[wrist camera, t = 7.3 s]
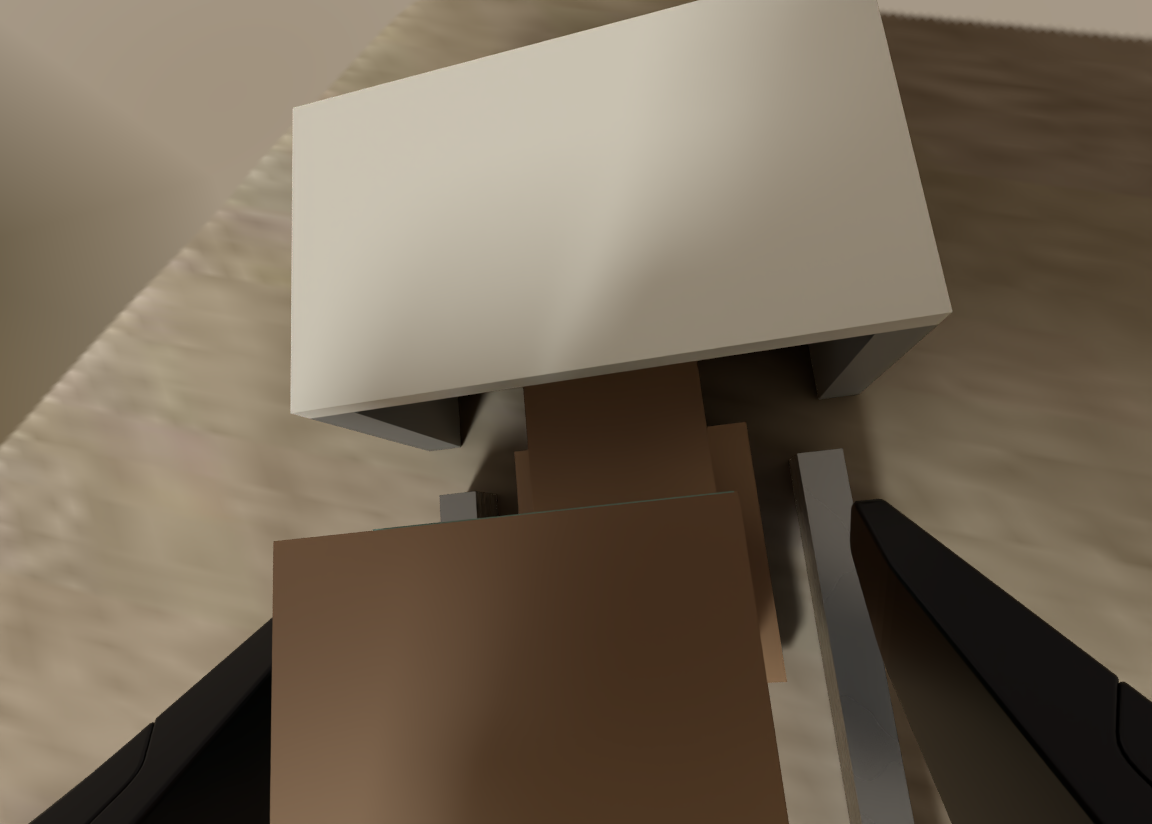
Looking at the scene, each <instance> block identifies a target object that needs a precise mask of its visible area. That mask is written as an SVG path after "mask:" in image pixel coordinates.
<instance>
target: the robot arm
mask: <svg viewBox="0 0 1152 824" xmlns="http://www.w3.org/2000/svg"><path fill="white" fill-rule="evenodd" d="M850 549H851V554H852V558H853V562H854V565H855V569H856V572H857V575H858V579H859V582H860V586H861V589H862V593H863V596H864V600H865V603H866V607H867V610H868V614H869V617H870V620H871V624H872V627H873V631H874V634H875V638H876V641H877V644H878V647H879V650H880V653H881V656H882V659H883V661H884V664H885V666H886V669H887V671H888V674H889V676H890V678H891V681H892V683H893V686H894V688H895V690H896V693H897V695H898V697H899V700H900V702H901V705H902V707H903V709H904V712H905V714H906V716H907V719H908V721H909V723H910V726H911V728H912V731H913V733H914V735H915V738H916V740H917V742H918V745H919V747H920V750H921V752H922V754H923V757H924V759H925V761H926V764H927V766H928V768H929V771H930V773H931V776H932V778H933V780H934V783H935V785H936V787H937V790H938V792H939V794H940V797H941V799H942V802H943V804H944V806H945V809H946V811H947V813H948V816H949V818H950V821H951V823H952V824H1152V702H1151V701H1150V700H1148V699H1147V698H1146V697H1144V696H1143V695H1142V694H1141V693H1139V692H1138V691H1137V690H1135V689H1134V688H1133V687H1131V686H1130V685H1129V684H1127V683H1126V682H1120V683H1119V679H1118V677H1117V676H1116V675H1115V674H1114V673H1112V672H1111V671H1110V670H1108V669H1107V668H1106V667H1104V666H1103V665H1102V664H1100V663H1099V662H1098V661H1096V660H1095V659H1094V658H1093V657H1091V656H1090V655H1089V654H1087V653H1086V652H1085V651H1083V650H1082V649H1081V648H1079V647H1078V646H1077V645H1075V644H1074V643H1073V642H1071V641H1070V640H1069V639H1067V638H1066V637H1065V636H1063V635H1062V634H1061V633H1059V632H1058V631H1057V630H1056V629H1054V628H1053V627H1052V626H1050V625H1049V624H1048V623H1046V622H1045V621H1044V620H1042V619H1041V618H1040V617H1038V616H1037V615H1036V614H1034V613H1033V612H1032V611H1030V610H1029V609H1028V608H1026V607H1025V606H1024V605H1022V604H1021V603H1020V602H1019V601H1017V600H1016V599H1015V598H1013V597H1012V596H1011V595H1009V594H1008V593H1007V592H1005V591H1004V590H1003V589H1001V588H1000V587H999V586H997V585H996V584H995V583H993V582H992V581H991V580H989V579H988V578H987V577H985V576H984V575H983V574H982V573H980V572H979V571H978V570H976V569H975V568H974V567H972V566H971V565H970V564H968V563H967V562H966V561H964V560H963V559H962V558H960V557H959V556H958V555H956V554H955V553H954V552H952V551H951V550H950V549H948V548H947V547H946V546H945V545H943V544H942V543H941V542H939V541H938V540H937V539H935V538H934V537H933V536H931V535H930V534H929V533H927V532H926V531H925V530H923V529H922V528H921V527H919V526H918V525H917V524H915V523H914V522H913V521H911V520H910V519H909V518H908V517H906V516H905V515H904V514H902V513H901V512H900V511H898V510H897V509H896V508H894V507H893V506H892V505H890V504H889V503H888V502H886V501H884V500H882V499H873V500H863V501H856V502H854V503H853V504H852V507H851V520H850ZM272 626H273V617H272V618H271V619H270V620H269V621H268V622H267V623H265V624H264V625H263V626H262V627H261V628H260V629H259V630H257V631H256V632H255V633H254V634H253V635H252V636H250V637H249V638H248V639H247V640H246V641H245V642H244V643H242V644H241V645H240V646H239V647H238V648H237V649H235V650H234V651H233V652H232V653H231V654H230V655H229V656H227V657H226V658H225V659H224V660H223V661H222V662H220V663H219V664H218V665H217V666H216V667H215V668H214V669H212V670H211V671H210V672H209V673H208V674H207V675H205V676H204V677H203V678H202V679H201V680H200V681H199V682H197V683H196V684H195V685H194V686H193V687H192V688H190V689H189V690H188V691H187V692H186V693H185V694H184V695H182V696H181V697H180V698H179V699H178V700H177V701H175V702H174V703H173V704H172V705H171V706H170V707H169V708H167V709H166V710H165V711H164V712H163V713H162V714H161V715H159V716H158V717H157V718H156V720H155V723H154V722H152V723H150V724H149V725H148V726H147V727H145V728H144V729H143V730H142V731H141V732H140V733H139V734H137V735H136V736H135V737H134V738H133V739H132V740H131V741H129V742H128V743H127V744H126V745H125V746H123V747H122V748H121V749H120V750H119V751H118V752H116V753H115V754H114V755H113V756H112V757H110V758H109V759H108V760H107V761H106V762H105V763H103V764H102V765H101V766H100V767H99V768H97V769H96V770H95V771H94V772H93V773H92V774H90V775H89V776H88V777H87V778H85V779H84V780H83V781H82V782H80V783H79V784H78V785H77V786H75V787H74V788H73V789H72V790H70V791H69V792H68V793H67V794H65V795H64V796H63V797H62V798H60V799H59V800H58V801H57V802H55V803H54V804H53V805H52V806H50V807H49V808H48V809H47V810H45V811H44V812H43V813H42V814H40V815H39V816H38V817H36V818H35V819H34V820H33V821H31V822H30V823H29V824H270V781H271V704H272Z"/></svg>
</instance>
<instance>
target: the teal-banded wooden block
mask: <svg viewBox="0 0 1152 824" xmlns="http://www.w3.org/2000/svg"><path fill="white" fill-rule="evenodd" d="M523 389H524V402H525V415H526V428H527V440H528V450H523V451H515V452H514V455H515V468H516V482H517V496H518V509H519V514H514V515H504V516H495V517H486V518H476V519H467V520H458V521H449V522H439V523H430V524H421V525H411V526H402V527H393V528H383V529H374V530H373V531H366V532H357V533H348V534H338V535H329V536H320V537H310V538H301V539H292V540H282V541H274V549H273V626H272V704H271V781H270V824H789V821H788V815H787V808H786V802H785V795H784V788H783V782H782V775H781V769H780V762H779V755H778V749H777V742H776V736H775V729H774V723H773V716H772V709H771V703H770V696H769V690H768V683H770V682H787V679H786V673H785V666H784V660H783V654H782V647H781V641H780V635H779V628H778V622H777V616H776V609H775V603H774V597H773V590H772V584H771V578H770V571H769V565H768V559H767V552H766V546H765V540H764V533H763V527H762V521H761V514H760V508H759V502H758V496H757V489H756V483H755V477H754V470H753V464H752V458H751V451H750V445H749V439H748V432H747V426H746V422H741V423H733V424H725V425H717V426H709V427H706V420H705V413H704V406H703V399H702V392H701V385H700V378H699V371H698V364H697V361H691V362H684V363H678V364H671V365H664V366H658V367H651V368H644V369H638V370H631V371H624V372H618V373H611V374H604V375H598V376H591V377H584V378H578V379H571V380H564V381H558V382H551V383H544V384H538V385H531V386H524V387H523Z"/></svg>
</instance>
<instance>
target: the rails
mask: <svg viewBox="0 0 1152 824" xmlns="http://www.w3.org/2000/svg"><path fill="white" fill-rule="evenodd" d="M788 462H789V468H790V474H791V480H792V485H793V491H794V497H795V503H796V509H797V515H798V520H799V526H800V532H801V538H802V544H803V550H804V555H805V561H806V567H807V573H808V579H809V585H810V591H811V596H812V602H813V608H814V614H815V620H816V626H817V631H818V637H819V643H820V649H821V655H822V661H823V667H824V672H825V678H826V684H827V690H828V696H829V702H830V707H831V713H832V719H833V725H834V731H835V737H836V742H837V748H838V754H839V760H840V766H841V772H842V778H843V783H844V789H845V795H846V801H847V807H848V813H849V818H850V824H914V819H913V814H912V809H911V803H910V798H909V793H908V788H907V783H906V777H905V772H904V767H903V762H902V756H901V751H900V746H899V741H898V736H897V730H896V725H895V720H894V715H893V709H892V704H891V699H890V694H889V689H888V683H887V678H886V673H885V668H884V662H883V659H882V656H881V653H880V650H879V647H878V644H877V641H876V638H875V634H874V631H873V627H872V624H871V620H870V617H869V614H868V610H867V607H866V603H865V600H864V596H863V593H862V589H861V586H860V582H859V579H858V575H857V572H856V569H855V565H854V562H853V558H852V554H851V549H850V520H851V507H852V504H853V500H852V495H851V490H850V485H849V480H848V474H847V469H846V464H845V459H844V453H843V448H841V449H832V450H824V451H815V452H807V453H798V454H796V455H795V456H794V457H793V458H791V459H790V460H789V461H788ZM440 515H441V522H449V521H458V520H467V519H476V518H486V517H495V516H498V509H497V494H491V493H484V492H477V491H473V492H464V493H455V494H447V495H440Z"/></svg>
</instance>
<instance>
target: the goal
mask: <svg viewBox="0 0 1152 824" xmlns="http://www.w3.org/2000/svg"><path fill="white" fill-rule="evenodd" d="M951 313H952V308H951V304H950V299H949V295H948V291H947V287H946V283H945V279H944V275H943V271H942V266H941V262H940V258H939V254H938V250H937V246H936V242H935V238H934V234H933V229H932V225H931V221H930V217H929V213H928V209H927V205H926V201H925V196H924V192H923V188H922V184H921V180H920V176H919V172H918V168H917V164H916V159H915V155H914V151H913V147H912V143H911V139H910V135H909V131H908V127H907V122H906V118H905V114H904V110H903V106H902V102H901V98H900V94H899V89H898V85H897V81H896V77H895V73H894V69H893V65H892V61H891V57H890V52H889V48H888V44H887V40H886V36H885V32H884V28H883V24H882V19H881V15H880V11H879V7H878V3H877V0H698V1H695V2H691V3H687V4H683V5H680V6H676V7H672V8H668V9H664V10H661V11H657V12H653V13H649V14H646V15H642V16H638V17H634V18H630V19H627V20H623V21H619V22H615V23H611V24H608V25H604V26H600V27H596V28H593V29H589V30H585V31H581V32H577V33H574V34H570V35H566V36H562V37H559V38H555V39H551V40H547V41H543V42H540V43H536V44H532V45H528V46H525V47H521V48H517V49H513V50H509V51H506V52H502V53H498V54H494V55H491V56H487V57H483V58H479V59H475V60H472V61H468V62H464V63H460V64H457V65H453V66H449V67H445V68H441V69H438V70H434V71H430V72H426V73H423V74H419V75H415V76H411V77H407V78H404V79H400V80H396V81H392V82H389V83H385V84H381V85H377V86H373V87H370V88H366V89H362V90H358V91H355V92H351V93H347V94H343V95H339V96H336V97H332V98H328V99H324V100H321V101H317V102H313V103H309V104H306V105H302V106H298V107H294V108H293V153H292V290H291V414H295V415H299V416H302V417H306V418H310V419H313V420H317V421H321V422H324V423H328V424H332V425H335V426H339V427H343V428H346V429H350V430H354V431H357V432H361V433H365V434H368V435H372V436H376V437H379V438H383V439H387V440H390V441H394V442H398V443H401V444H405V445H409V446H412V447H416V448H420V449H423V450H427V451H434V450H442V449H449V448H457V447H461V439H460V420H459V402H458V396H464V395H471V394H478V393H484V392H491V391H498V390H504V389H511V388H518V387H524V386H531V385H538V384H544V383H551V382H558V381H564V380H571V379H578V378H584V377H591V376H598V375H604V374H611V373H618V372H624V371H631V370H638V369H644V368H651V367H658V366H664V365H671V364H678V363H684V362H691V361H698V360H704V359H711V358H718V357H724V356H731V355H738V354H744V353H751V352H758V351H764V350H771V349H778V348H784V347H791V346H798V345H804V344H808V346H809V352H810V357H811V363H812V368H813V373H814V379H815V384H816V390H817V395H818V400H819V399H827V398H834V397H842V396H849V395H857V394H860V393H861V392H862V391H863V390H864V389H866V388H867V387H868V386H869V385H870V384H871V383H872V382H873V381H875V380H876V379H877V378H878V377H879V376H880V375H881V374H883V373H884V372H885V371H886V370H887V369H888V368H889V367H891V366H892V365H893V364H894V363H895V362H896V361H897V360H899V359H900V358H901V357H902V356H903V355H904V354H905V353H906V352H908V351H909V350H910V349H911V348H912V347H913V346H914V345H916V344H917V343H918V342H919V341H920V340H921V339H922V338H924V337H925V336H926V335H927V334H928V333H929V332H930V331H932V330H933V329H934V328H935V327H936V326H937V325H938V324H939V323H941V322H942V321H943V320H944V319H945V318H946V317H947V316H949V315H950V314H951Z"/></svg>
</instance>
